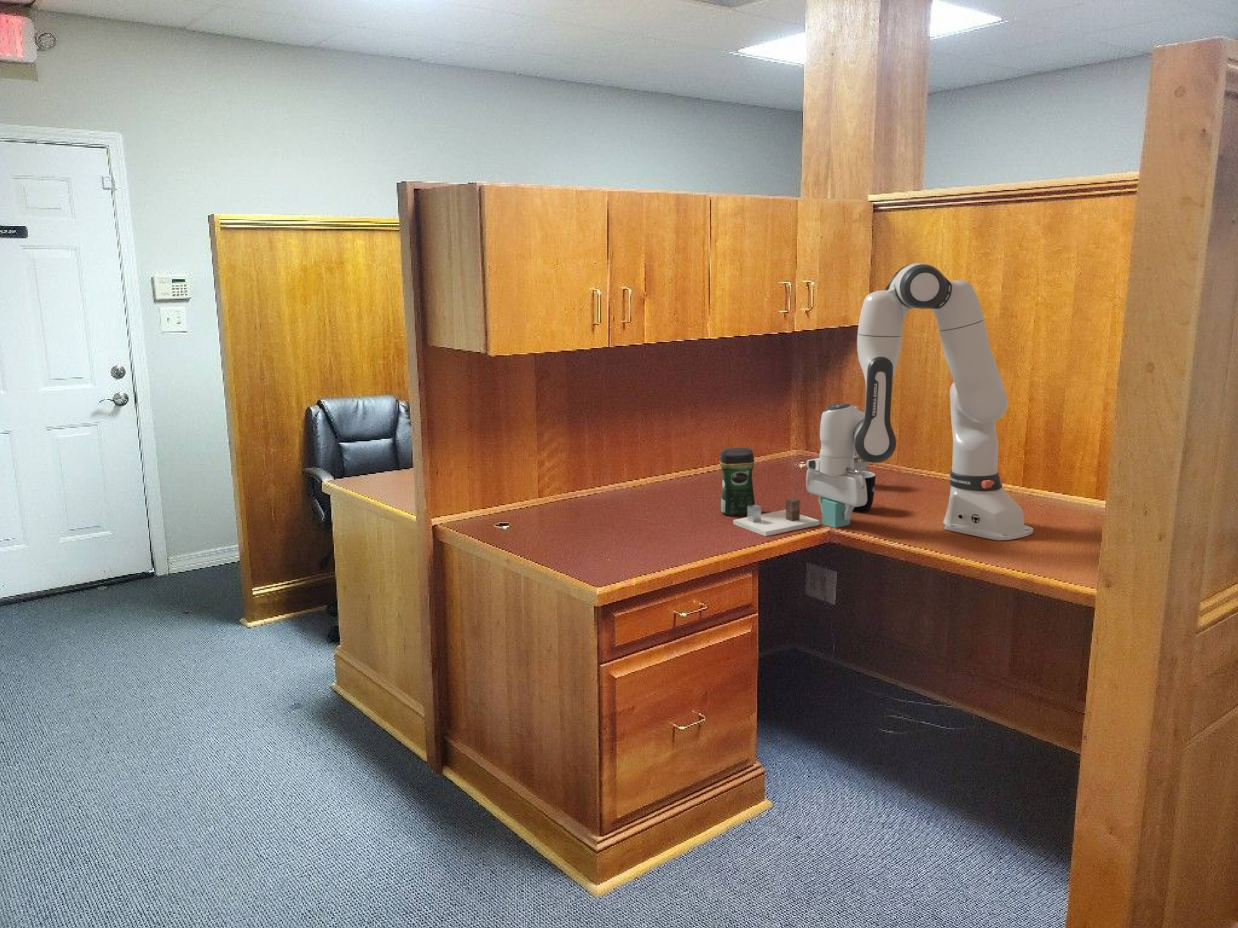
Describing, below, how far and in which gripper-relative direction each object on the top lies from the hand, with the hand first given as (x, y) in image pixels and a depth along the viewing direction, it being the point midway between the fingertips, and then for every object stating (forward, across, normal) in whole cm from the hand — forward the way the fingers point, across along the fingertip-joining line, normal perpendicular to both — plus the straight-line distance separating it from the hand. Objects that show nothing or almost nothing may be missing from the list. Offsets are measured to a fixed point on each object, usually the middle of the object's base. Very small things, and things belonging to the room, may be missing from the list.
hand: (835, 515), depth 259 cm
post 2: (+1, +7, +9) cm, 11 cm away
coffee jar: (+3, +25, +14) cm, 29 cm away
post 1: (+1, +12, +18) cm, 22 cm away
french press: (+2, +29, -34) cm, 45 cm away
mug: (+2, +9, -16) cm, 19 cm away
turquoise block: (+2, 0, 0) cm, 2 cm away
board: (+2, +9, +13) cm, 16 cm away
